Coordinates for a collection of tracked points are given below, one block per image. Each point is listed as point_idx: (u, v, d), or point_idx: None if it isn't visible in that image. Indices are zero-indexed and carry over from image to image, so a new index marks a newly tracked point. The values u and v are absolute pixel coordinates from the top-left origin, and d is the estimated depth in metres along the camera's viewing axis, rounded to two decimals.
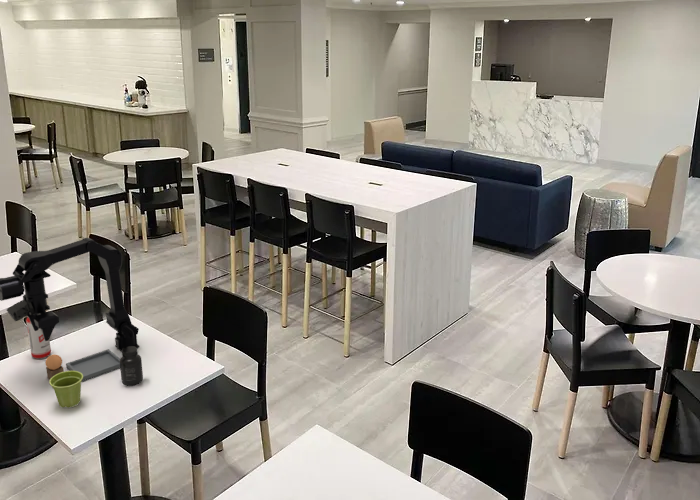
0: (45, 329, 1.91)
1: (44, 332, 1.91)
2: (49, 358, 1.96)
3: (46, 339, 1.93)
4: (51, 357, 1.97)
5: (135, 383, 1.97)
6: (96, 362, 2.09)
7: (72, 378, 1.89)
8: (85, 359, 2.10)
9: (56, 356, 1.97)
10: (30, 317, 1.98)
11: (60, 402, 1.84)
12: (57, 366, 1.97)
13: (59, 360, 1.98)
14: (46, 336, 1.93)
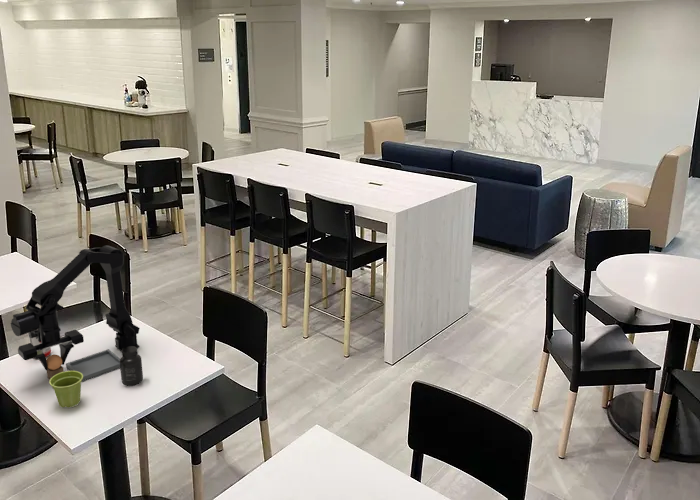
0: None
1: None
2: (49, 358, 1.96)
3: None
4: (51, 357, 1.97)
5: (135, 383, 1.97)
6: (96, 362, 2.09)
7: (72, 378, 1.89)
8: (85, 359, 2.10)
9: (56, 356, 1.97)
10: (60, 349, 2.00)
11: (60, 402, 1.84)
12: (57, 366, 1.97)
13: (59, 360, 1.98)
14: None
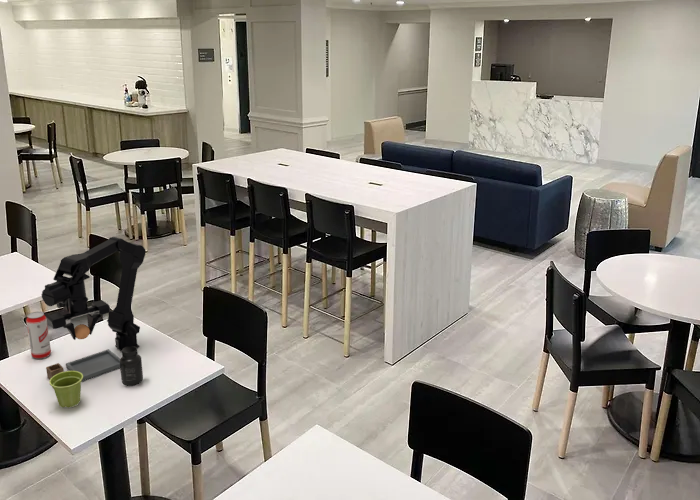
0: None
1: (68, 329, 1.98)
2: (77, 328, 1.99)
3: (72, 337, 2.00)
4: (79, 327, 1.99)
5: (135, 383, 1.97)
6: (96, 362, 2.09)
7: (72, 378, 1.89)
8: (85, 359, 2.10)
9: (84, 326, 2.00)
10: None
11: (60, 402, 1.84)
12: (85, 335, 2.00)
13: (87, 329, 2.00)
14: (71, 334, 1.99)
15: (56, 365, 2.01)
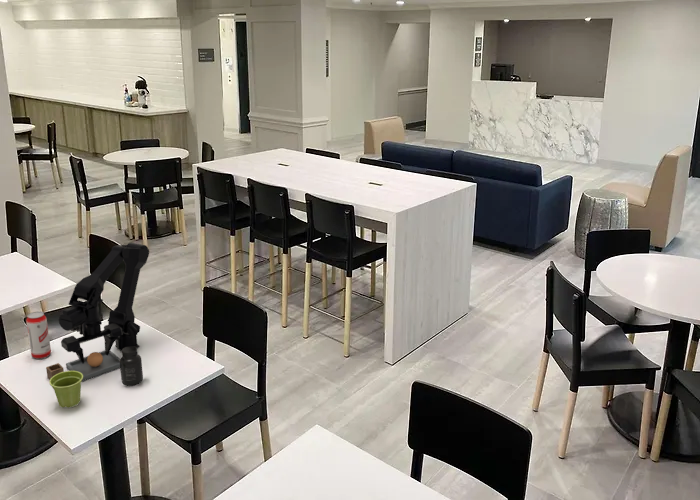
0: (77, 352, 2.01)
1: (76, 353, 2.02)
2: (91, 355, 2.05)
3: (81, 361, 2.03)
4: (93, 354, 2.05)
5: (135, 383, 1.97)
6: None
7: (72, 378, 1.89)
8: (85, 359, 2.10)
9: (97, 354, 2.06)
10: None
11: (60, 402, 1.84)
12: (98, 363, 2.05)
13: (100, 357, 2.06)
14: (79, 358, 2.03)
15: (56, 365, 2.01)
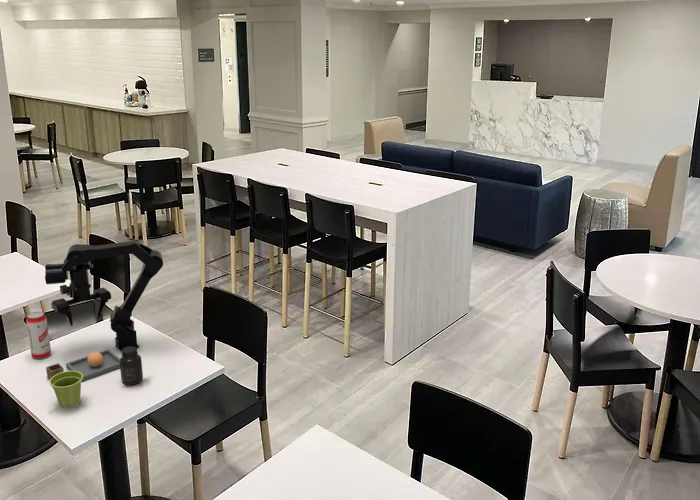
0: (65, 314, 2.08)
1: (65, 316, 2.08)
2: (91, 355, 2.05)
3: None
4: (93, 354, 2.05)
5: (135, 383, 1.97)
6: None
7: (72, 378, 1.89)
8: (85, 359, 2.10)
9: (98, 353, 2.06)
10: (95, 304, 2.15)
11: (60, 402, 1.84)
12: (98, 363, 2.05)
13: (101, 357, 2.06)
14: (68, 321, 2.09)
15: (56, 365, 2.01)
